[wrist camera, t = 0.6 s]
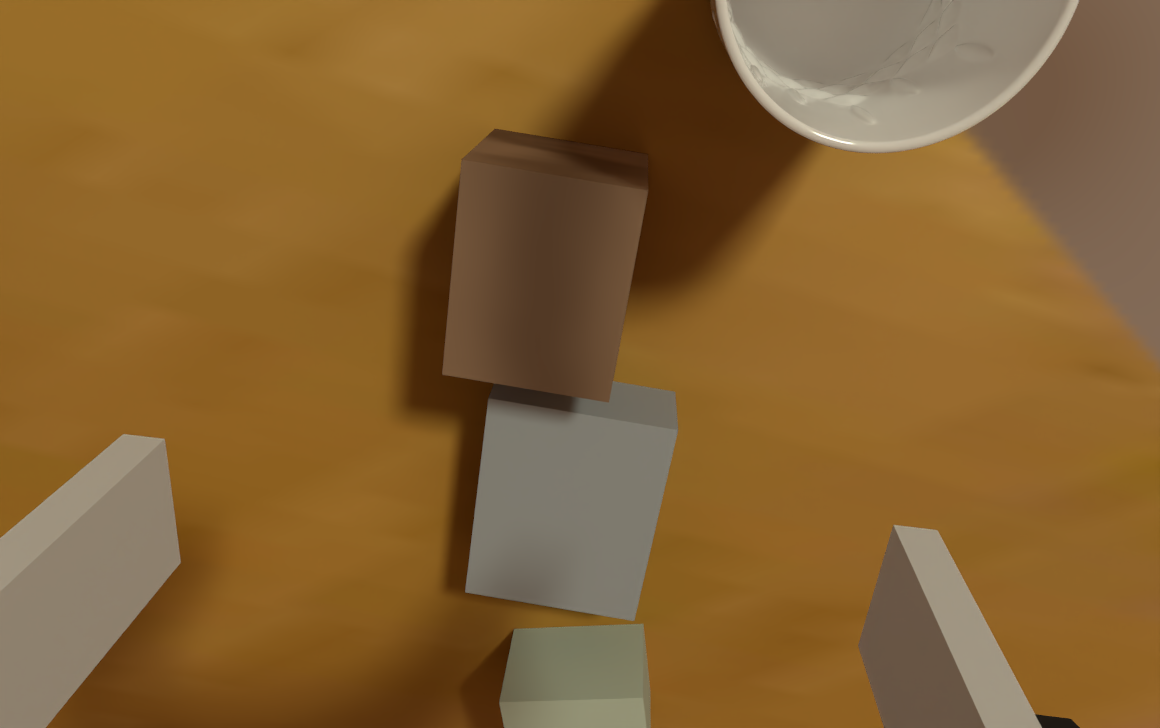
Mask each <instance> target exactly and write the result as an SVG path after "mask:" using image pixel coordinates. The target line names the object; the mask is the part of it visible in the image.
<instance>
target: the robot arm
mask: <svg viewBox="0 0 1160 728" xmlns="http://www.w3.org/2000/svg"><path fill="white" fill-rule="evenodd" d="M180 563H181V560H180V553H179V545H178V537H177V530H176V522H175V514H174V507H173V499H172V491H171V484H170V476H169V468H168V461H167V453H166V445H165V439H160V438H152V437H143V436H135V435H126V434H123V435H122V436H121V437H119V438H118V439H117V440H116V441H115V442H114V443H112V444H111V445H110V446H109V447H108V448H106V449H105V450H104V451H103V452H102V453H101V454H99V455H98V456H97V457H96V458H95V459H93V460H92V461H91V462H90V463H89V464H88V465H86V466H85V467H84V468H83V469H82V470H80V471H79V472H78V473H77V474H76V475H75V476H73V477H72V478H71V479H70V480H69V481H67V482H66V483H65V484H64V485H63V486H62V487H60V488H59V489H58V490H57V491H56V492H54V493H53V494H52V495H51V496H50V497H49V498H47V499H46V500H45V501H44V502H43V503H41V504H40V505H39V506H38V507H37V508H36V509H34V510H33V511H32V512H31V513H30V514H28V515H27V516H26V517H25V518H24V519H22V520H21V521H20V522H19V523H18V524H17V525H15V526H14V527H13V528H12V529H11V530H9V531H8V532H7V533H6V534H5V535H4V536H2V537H1V538H0V728H46V727H47V725H48V724H49V723H50V722H51V720H52V719H53V718H54V717H55V716H56V714H57V713H58V712H59V711H60V709H61V708H62V707H63V706H64V705H65V703H66V702H67V701H68V700H69V698H70V697H71V696H72V695H73V694H74V692H75V691H76V690H77V689H78V687H79V686H80V685H81V684H82V683H83V681H84V680H85V679H86V678H87V676H88V675H89V674H90V673H91V672H92V670H93V669H94V668H95V667H96V665H97V664H98V663H99V662H100V661H101V659H102V658H103V657H104V656H105V654H106V653H107V652H108V651H109V650H110V648H111V647H112V646H113V645H114V643H115V642H116V641H117V640H118V639H119V637H120V636H121V635H122V634H123V632H124V631H125V630H126V629H127V628H128V626H129V625H130V624H131V623H132V621H133V620H134V619H135V618H136V617H137V615H138V614H139V613H140V612H141V610H142V609H143V608H144V607H145V606H146V604H147V603H148V602H149V601H150V599H151V598H152V597H153V596H154V595H155V593H156V592H157V591H158V590H159V588H160V587H161V586H162V585H163V584H164V582H165V581H166V580H167V579H168V577H169V576H170V575H171V574H172V573H173V571H174V570H175V569H176V568H177V566H178V565H179V564H180ZM858 646H859V650H860V653H861V656H862V659H863V662H864V665H865V669H866V672H867V675H868V678H869V681H870V684H871V688H872V691H873V694H874V697H875V700H876V703H877V707H878V710H879V713H880V716H881V719H882V722H883V725H884V728H1080V727H1078V726H1077V725H1076V724H1075V723H1074V722H1073V721H1072V720H1071V719H1068V718H1060V717H1052V716H1044V715H1036V714H1034V712H1033V710H1032V708H1031V706H1030V704H1029V702H1028V700H1027V699H1026V697H1025V695H1024V693H1023V691H1022V689H1021V687H1020V685H1019V683H1018V682H1017V680H1016V678H1015V676H1014V674H1013V672H1012V670H1011V668H1010V666H1009V665H1008V663H1007V661H1006V659H1005V657H1004V655H1003V653H1002V651H1001V649H1000V648H999V646H998V644H997V642H996V640H995V638H994V636H993V634H992V632H991V631H990V629H989V627H988V625H987V623H986V621H985V619H984V617H983V615H982V614H981V612H980V610H979V608H978V606H977V604H976V602H975V600H974V599H973V597H972V595H971V593H970V591H969V589H968V587H967V585H966V583H965V582H964V580H963V578H962V576H961V574H960V572H959V570H958V568H957V566H956V565H955V563H954V561H953V559H952V557H951V555H950V553H949V551H948V549H947V548H946V546H945V544H944V542H943V540H942V538H941V536H940V534H939V532H938V531H937V530H931V529H923V528H915V527H906V526H898V525H893V528H892V532H891V535H890V539H889V542H888V545H887V549H886V552H885V556H884V559H883V563H882V566H881V569H880V573H879V576H878V580H877V583H876V587H875V590H874V593H873V597H872V600H871V604H870V607H869V611H868V614H867V617H866V621H865V624H864V628H863V631H862V635H861V638H860V641H859V645H858Z"/></svg>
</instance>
